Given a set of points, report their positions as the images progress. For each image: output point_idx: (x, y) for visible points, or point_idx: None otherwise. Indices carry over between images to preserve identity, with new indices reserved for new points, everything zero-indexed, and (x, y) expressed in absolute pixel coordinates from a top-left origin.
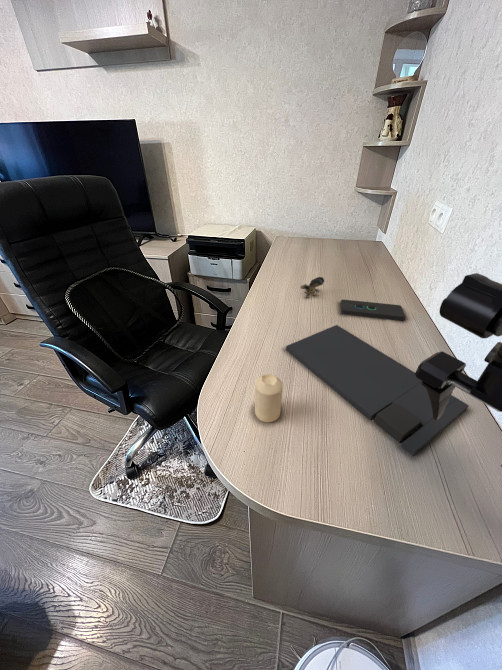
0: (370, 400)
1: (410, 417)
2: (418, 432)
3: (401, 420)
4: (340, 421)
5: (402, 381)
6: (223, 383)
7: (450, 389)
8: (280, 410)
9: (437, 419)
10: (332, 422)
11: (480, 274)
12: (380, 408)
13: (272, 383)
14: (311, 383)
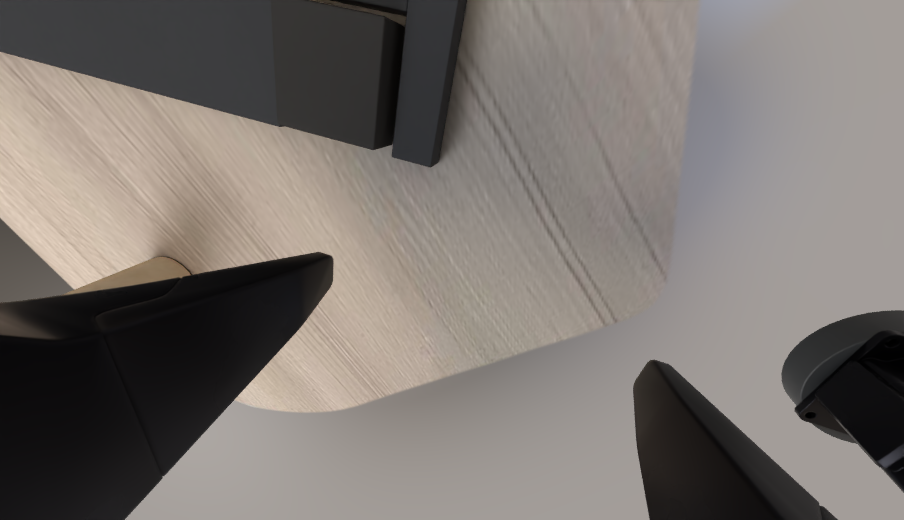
0: (232, 54)
1: (349, 34)
2: (406, 72)
3: (337, 83)
4: (260, 193)
5: None
6: (81, 276)
7: (23, 449)
8: (176, 274)
9: (329, 280)
10: (254, 211)
11: None
12: (273, 65)
13: None
14: (122, 119)
